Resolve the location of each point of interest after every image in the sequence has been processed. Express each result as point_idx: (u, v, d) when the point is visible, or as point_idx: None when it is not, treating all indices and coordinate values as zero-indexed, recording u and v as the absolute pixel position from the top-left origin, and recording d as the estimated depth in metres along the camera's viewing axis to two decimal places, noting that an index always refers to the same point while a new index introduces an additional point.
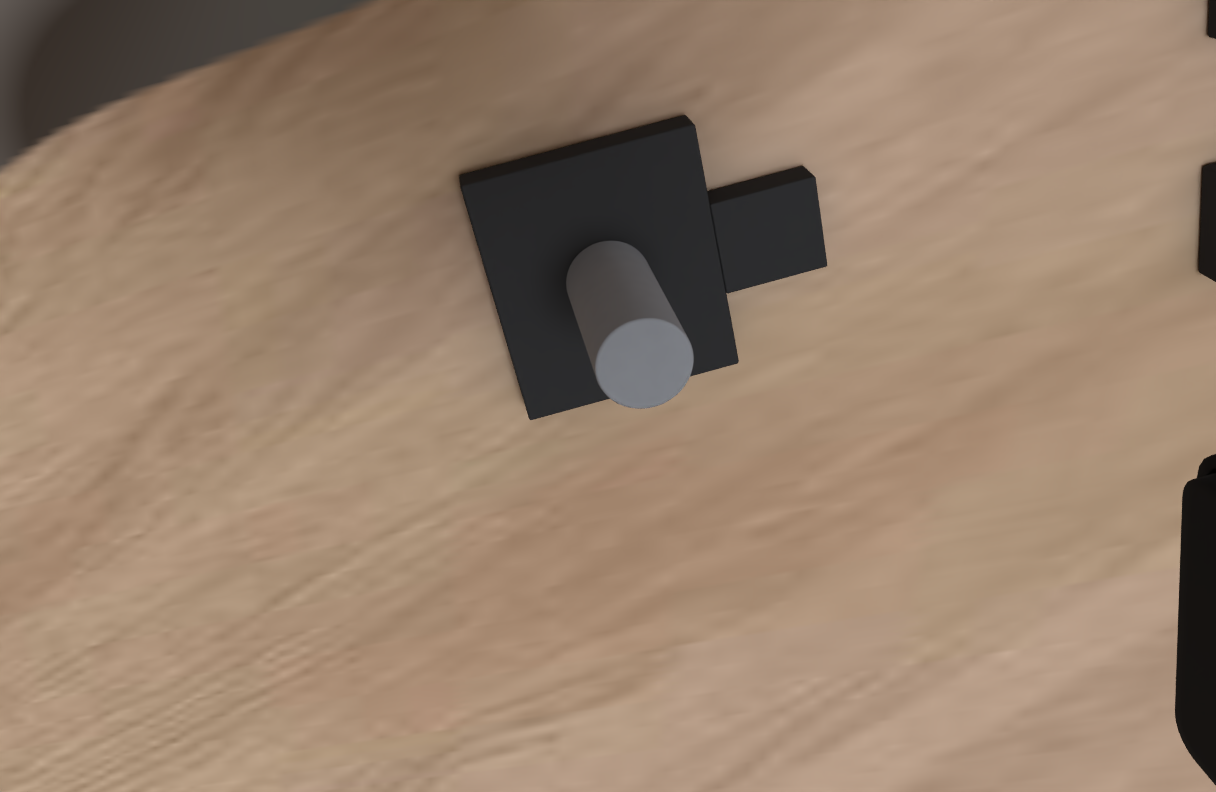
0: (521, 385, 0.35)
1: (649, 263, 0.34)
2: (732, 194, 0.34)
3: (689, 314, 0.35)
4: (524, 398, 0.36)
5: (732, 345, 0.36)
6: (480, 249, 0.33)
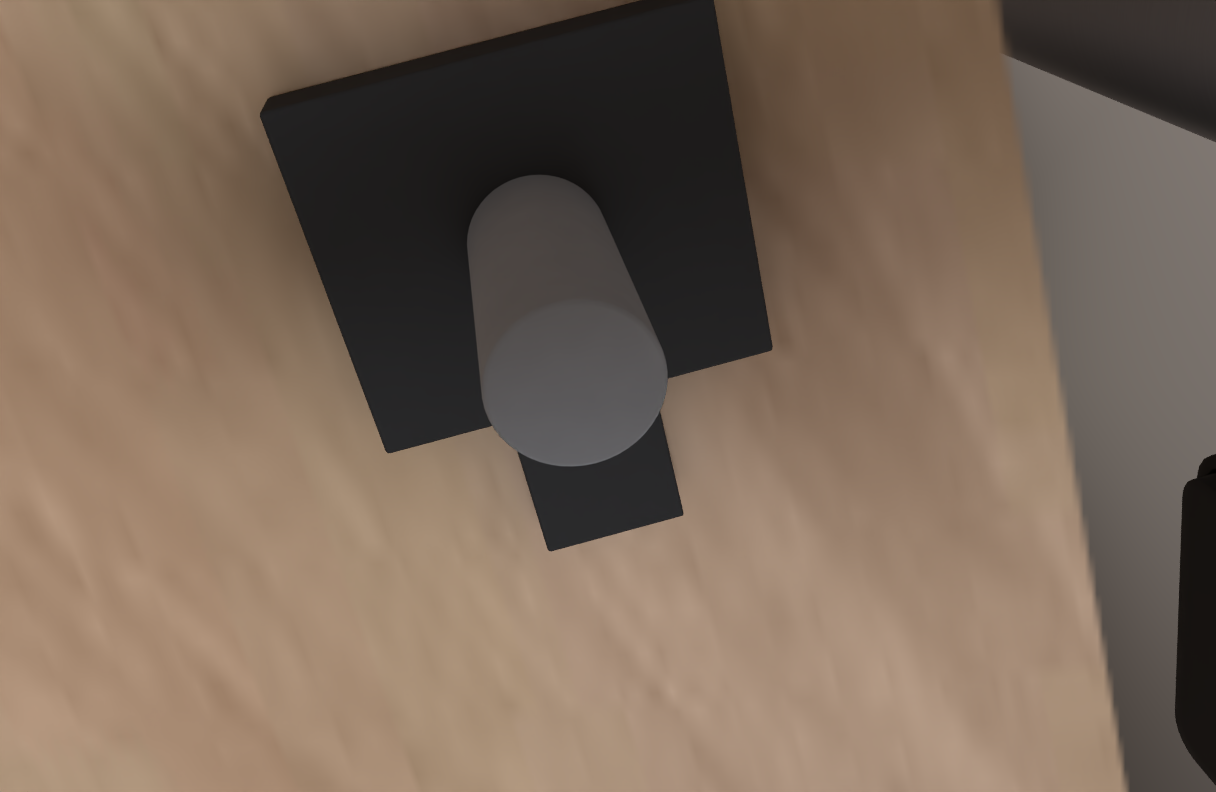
0: (334, 97, 0.19)
1: None
2: None
3: (474, 371, 0.22)
4: (307, 102, 0.19)
5: (419, 441, 0.22)
6: (601, 26, 0.19)
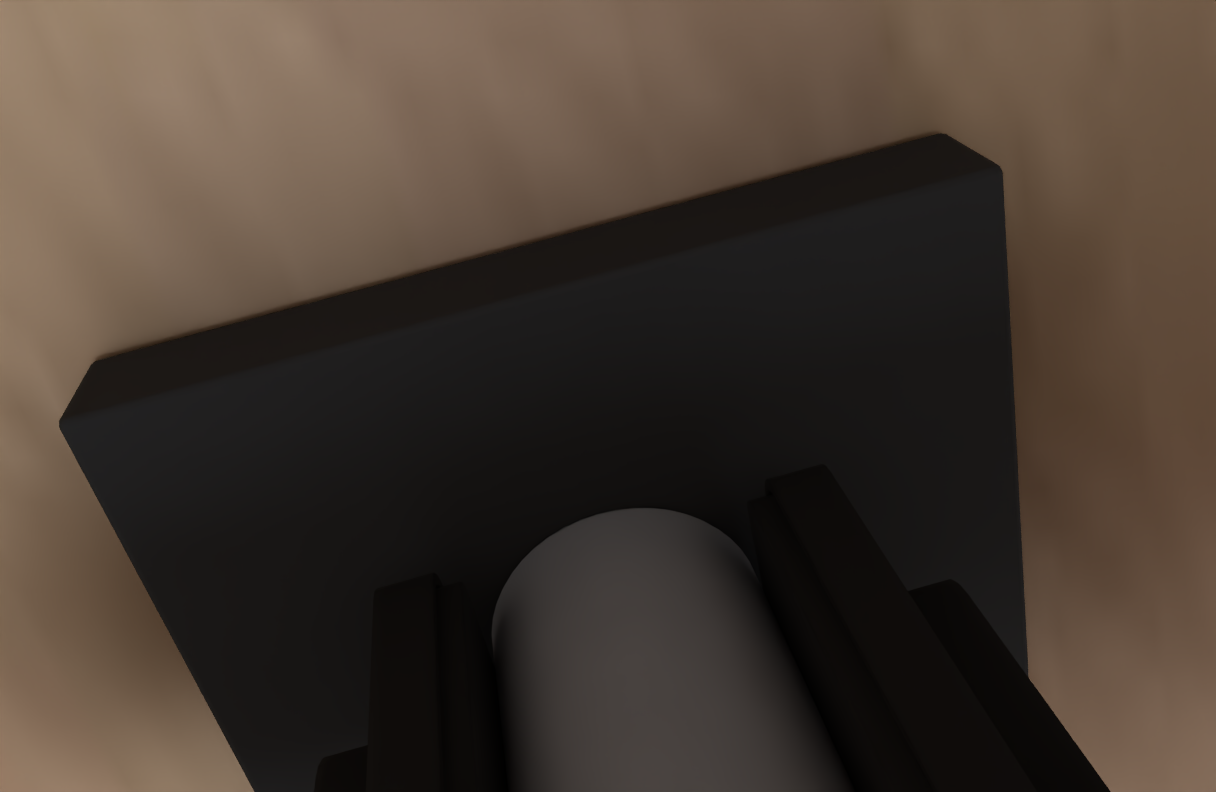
0: (217, 386, 0.09)
1: None
2: None
3: None
4: (158, 399, 0.09)
5: None
6: (776, 233, 0.09)
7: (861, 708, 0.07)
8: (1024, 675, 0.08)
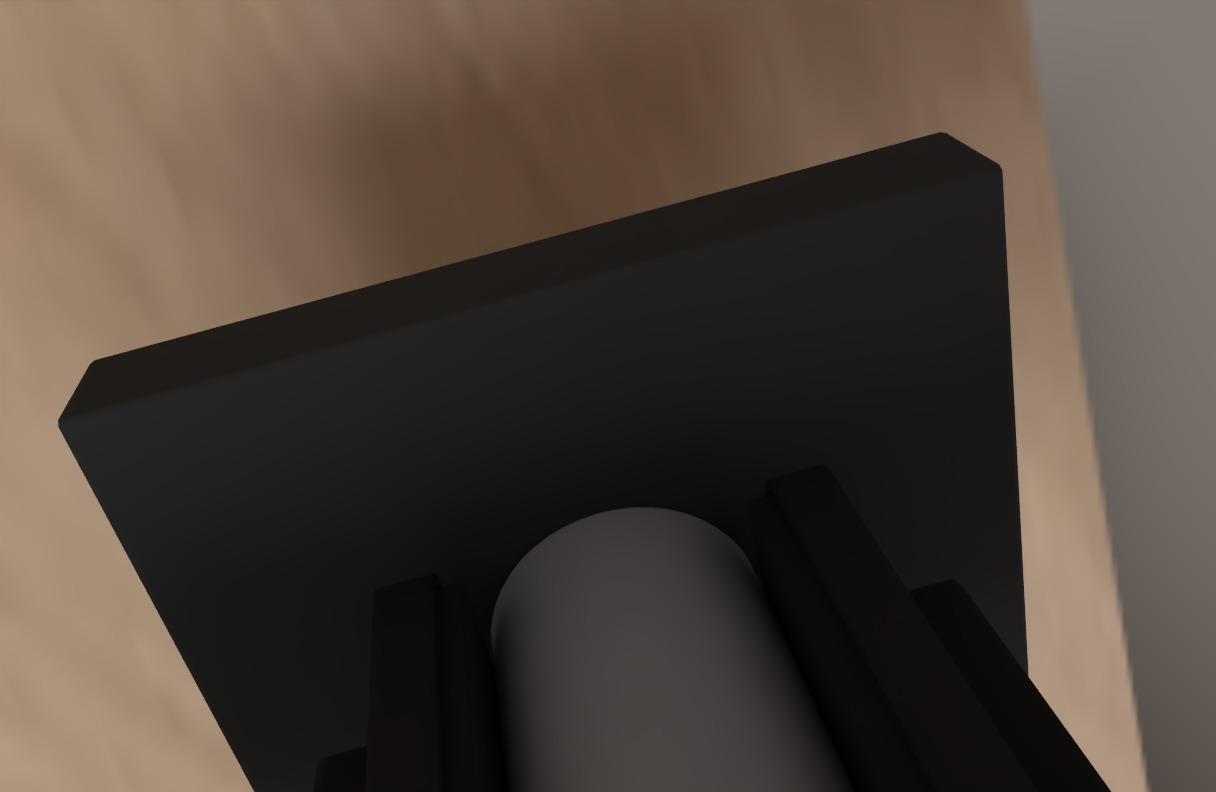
0: (216, 385, 0.09)
1: None
2: None
3: None
4: (157, 398, 0.09)
5: None
6: (775, 232, 0.09)
7: (861, 708, 0.07)
8: (1024, 675, 0.08)
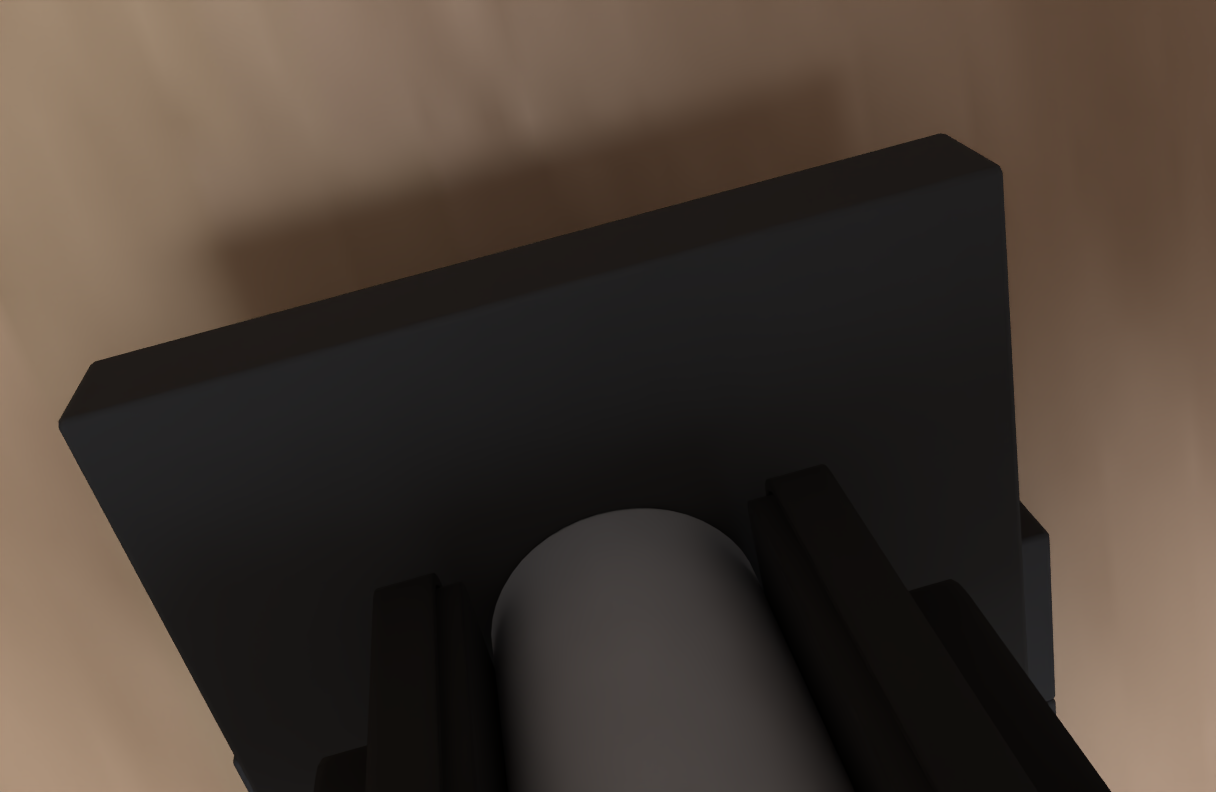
0: (216, 386, 0.09)
1: None
2: None
3: None
4: (157, 399, 0.09)
5: None
6: (775, 233, 0.09)
7: (862, 708, 0.07)
8: (1025, 675, 0.08)
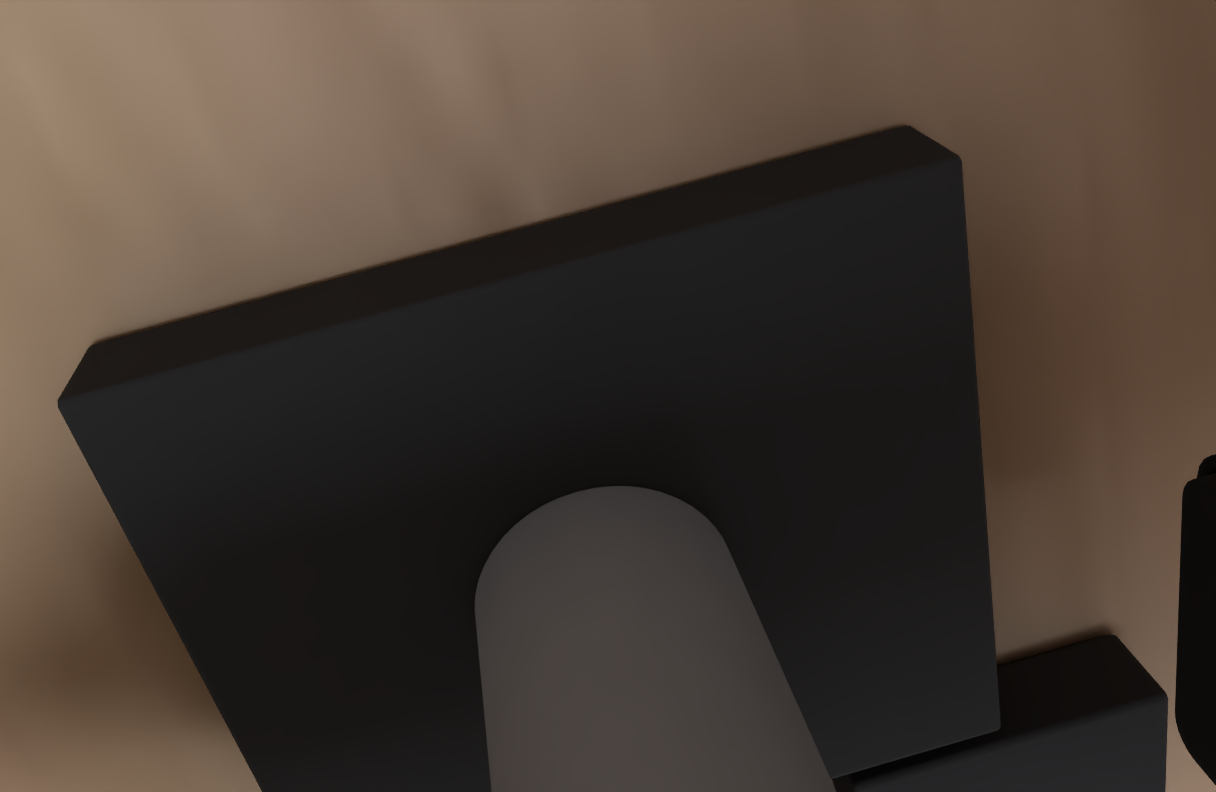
0: (208, 366, 0.10)
1: None
2: None
3: None
4: (152, 379, 0.09)
5: None
6: (744, 220, 0.10)
7: None
8: None
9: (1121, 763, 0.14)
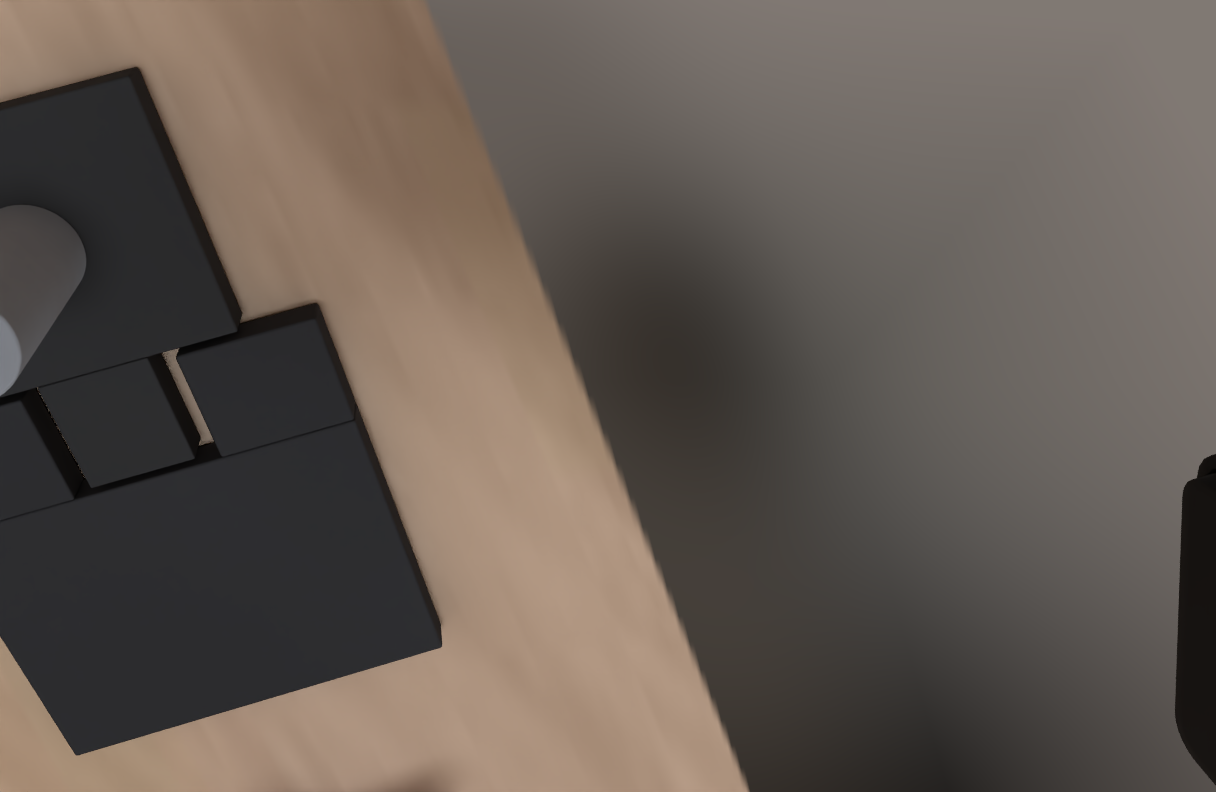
0: None
1: None
2: (161, 377, 0.31)
3: None
4: None
5: None
6: (48, 99, 0.27)
7: None
8: None
9: (304, 353, 0.31)
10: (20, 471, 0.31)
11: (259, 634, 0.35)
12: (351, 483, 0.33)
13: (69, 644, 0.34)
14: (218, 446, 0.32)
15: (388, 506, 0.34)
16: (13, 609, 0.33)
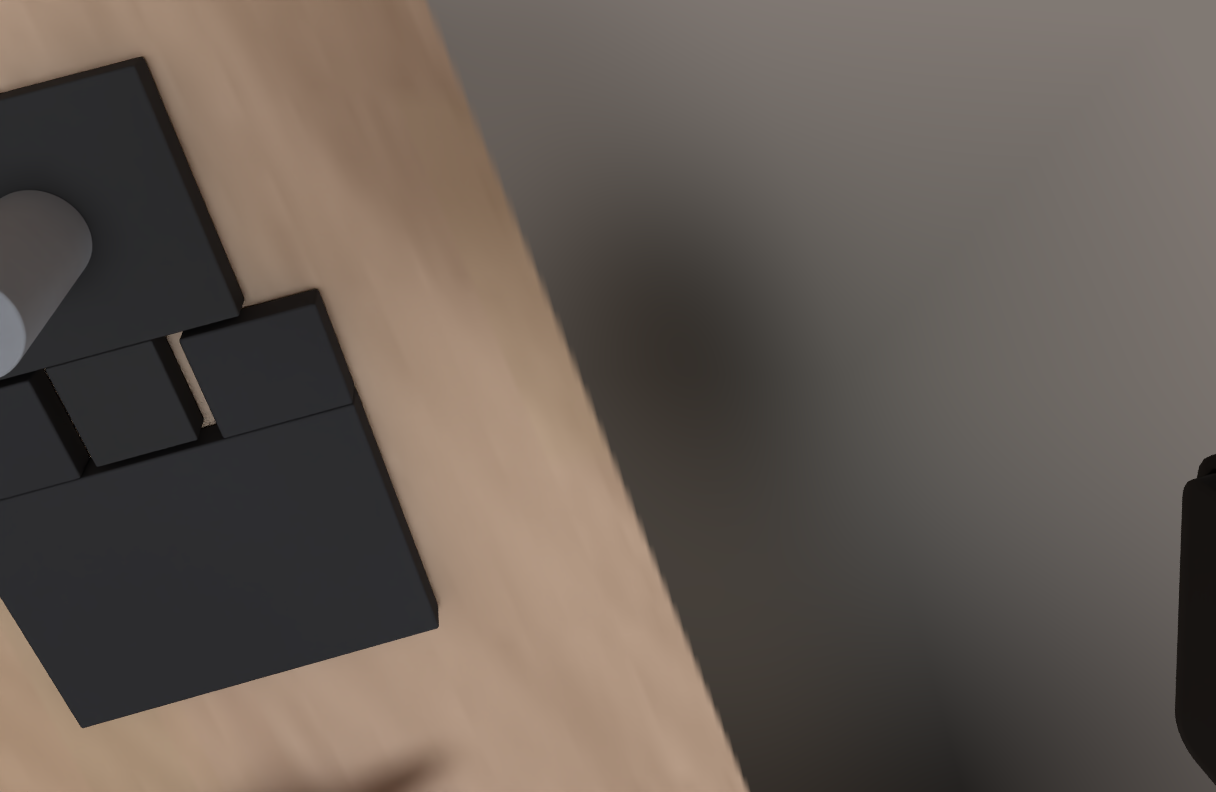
0: None
1: None
2: (165, 359, 0.32)
3: None
4: None
5: None
6: (55, 87, 0.28)
7: None
8: None
9: (304, 338, 0.32)
10: (28, 449, 0.32)
11: (260, 612, 0.36)
12: (350, 465, 0.34)
13: (75, 619, 0.35)
14: (220, 427, 0.33)
15: (386, 488, 0.34)
16: (21, 584, 0.34)
